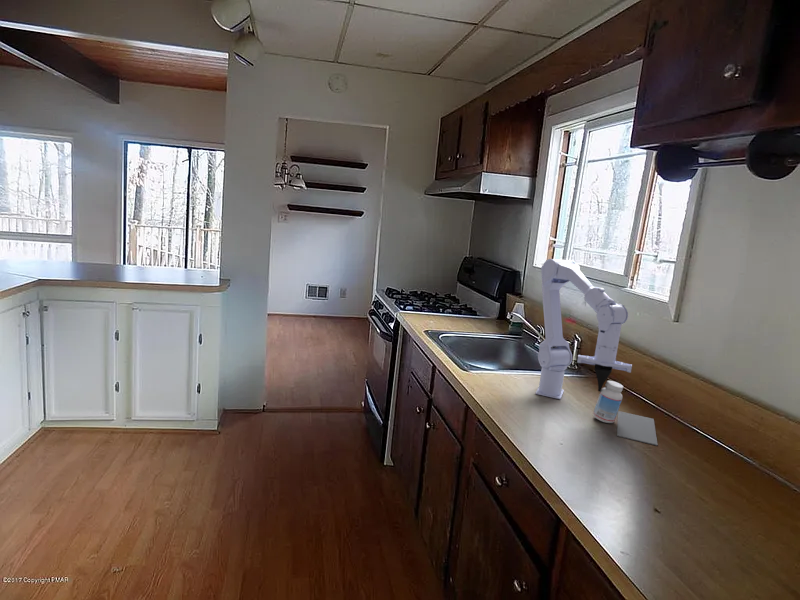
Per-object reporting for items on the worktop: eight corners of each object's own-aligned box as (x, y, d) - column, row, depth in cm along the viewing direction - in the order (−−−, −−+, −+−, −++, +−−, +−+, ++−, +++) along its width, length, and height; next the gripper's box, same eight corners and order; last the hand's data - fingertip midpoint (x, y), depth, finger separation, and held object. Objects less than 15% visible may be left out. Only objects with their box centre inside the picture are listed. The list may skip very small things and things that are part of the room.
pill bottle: (618, 424, 148) (630, 389, 145) (600, 423, 146) (612, 387, 144) (605, 414, 154) (617, 380, 151) (588, 412, 152) (600, 378, 149)
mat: (617, 411, 158) (618, 410, 157) (653, 419, 154) (653, 418, 154) (617, 436, 139) (617, 435, 139) (657, 445, 136) (657, 444, 136)
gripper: (579, 343, 146) (572, 388, 148) (634, 353, 140) (626, 400, 143) (581, 338, 152) (574, 382, 155) (634, 348, 147) (626, 392, 149)
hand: (599, 390), depth 149 cm, fingers closed
